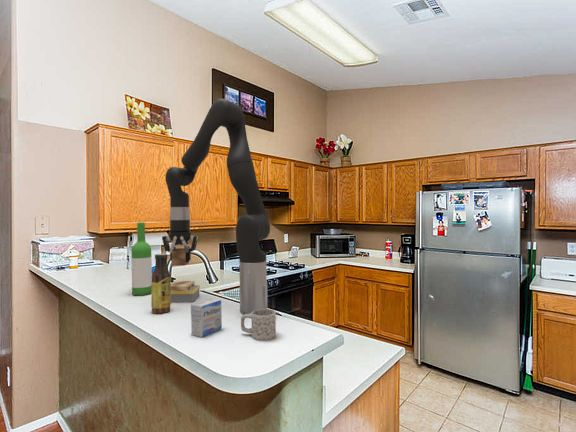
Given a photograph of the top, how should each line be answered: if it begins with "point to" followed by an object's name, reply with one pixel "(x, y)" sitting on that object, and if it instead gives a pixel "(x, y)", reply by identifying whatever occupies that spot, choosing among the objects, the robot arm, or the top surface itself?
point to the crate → (179, 256)
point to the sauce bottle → (161, 285)
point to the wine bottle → (141, 264)
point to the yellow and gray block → (186, 294)
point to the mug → (261, 324)
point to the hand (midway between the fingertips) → (180, 261)
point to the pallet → (181, 285)
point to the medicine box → (206, 317)
